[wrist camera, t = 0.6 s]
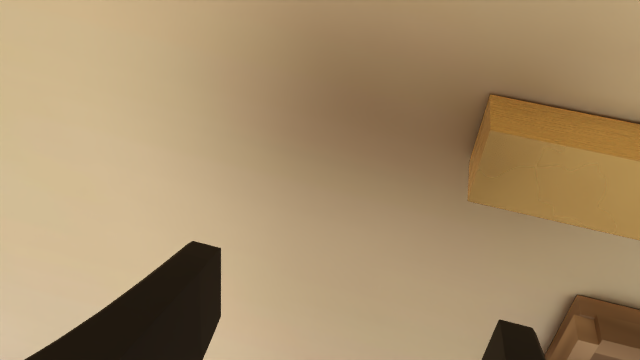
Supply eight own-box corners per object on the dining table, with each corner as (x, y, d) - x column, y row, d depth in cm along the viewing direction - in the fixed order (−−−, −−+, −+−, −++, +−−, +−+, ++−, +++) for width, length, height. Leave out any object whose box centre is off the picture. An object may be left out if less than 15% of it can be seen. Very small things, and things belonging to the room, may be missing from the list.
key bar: (687, 207, 18) (711, 256, 16) (469, 160, 19) (467, 200, 17) (728, 141, 17) (759, 186, 15) (490, 94, 18) (490, 130, 16)
